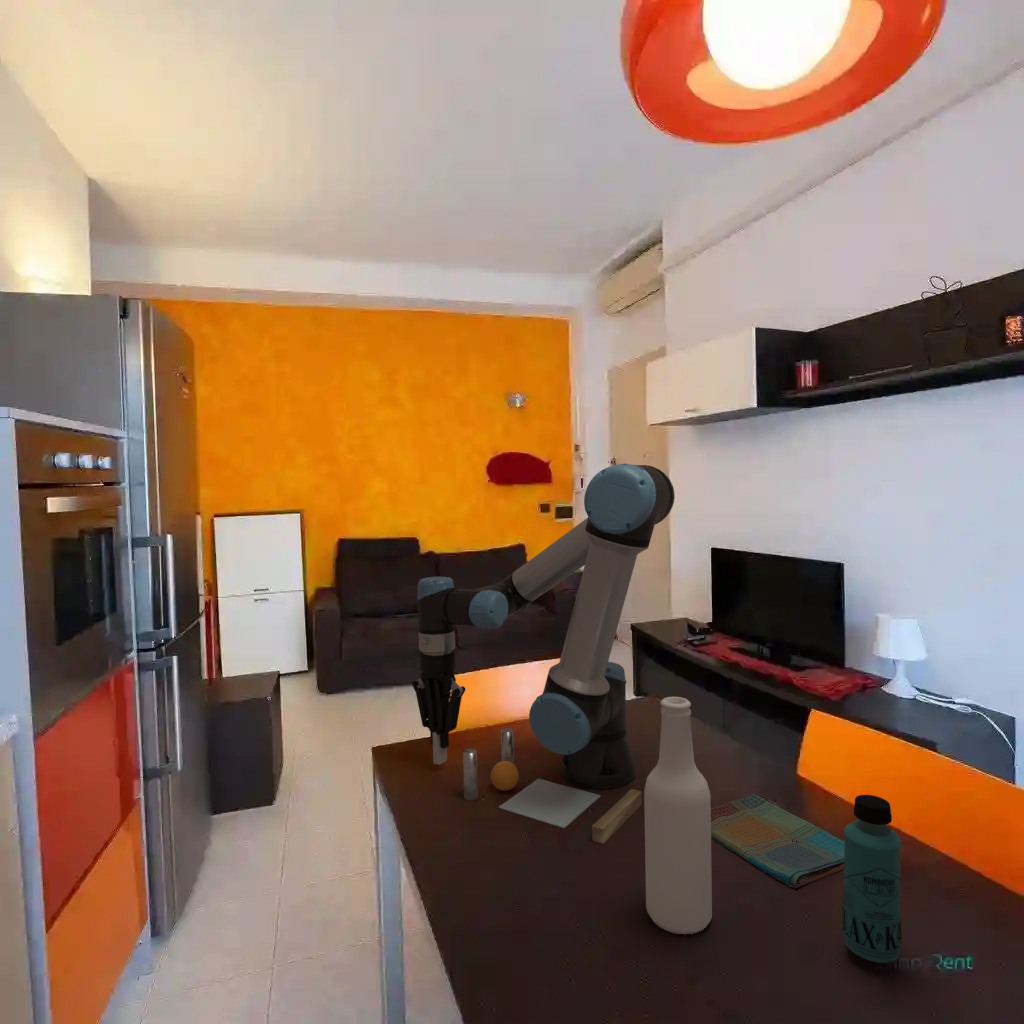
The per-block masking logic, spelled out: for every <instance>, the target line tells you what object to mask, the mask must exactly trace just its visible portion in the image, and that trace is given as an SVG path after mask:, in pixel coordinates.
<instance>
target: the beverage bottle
mask: <svg viewBox="0 0 1024 1024" xmlns="http://www.w3.org/2000/svg"><path fill="white" fill-rule="evenodd" d="M853 815H854V817H855V818H857V820H853V821H852V822H851V823H849V824H847V825H846V826H845V827H844V829H843V836H844V841H845V842H844V870H843V876H842V877H841V878H842V879H843V886H842V887H841V888H842V889H843V894H842V895H841V897H842V901H841V902H842V903H841V904H842V905H841V906H842V907H841V910H842V912H841V916H842V918H841V923H842V927H841V929H842V930H841V931H842V938H843V939H844V943H845V945H846V946H847V948H848V949H849V950H850V951H851V952H853V954H855V955H857V956H858V957H860V958H862V959H864V960H868V961H870V962H875V963H879V964H881V963H883V964H885V963H886V964H887V963H891V962H894V961H896V959H898V957H899V956H900V954H901V951H902V946H901V945H902V942H903V941H902V938H903V937H902V935H903V934H902V932H903V931H902V928H903V925H902V924H901V903H902V893H901V891H902V890H901V888H902V883H903V882H902V879H901V849H902V840H901V839H900V837H899V836H898V834H897V833H896V832H895V831H894V830H893V829H891V827H890V826H888V824H891V822H892V820H893V816H892V809H891V804H890V802H889V801H888V800H886V799H884V798H883V797H879V796H876V795H872V794H860V795H857V796H856V797H855V798H854V807H853Z"/></svg>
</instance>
